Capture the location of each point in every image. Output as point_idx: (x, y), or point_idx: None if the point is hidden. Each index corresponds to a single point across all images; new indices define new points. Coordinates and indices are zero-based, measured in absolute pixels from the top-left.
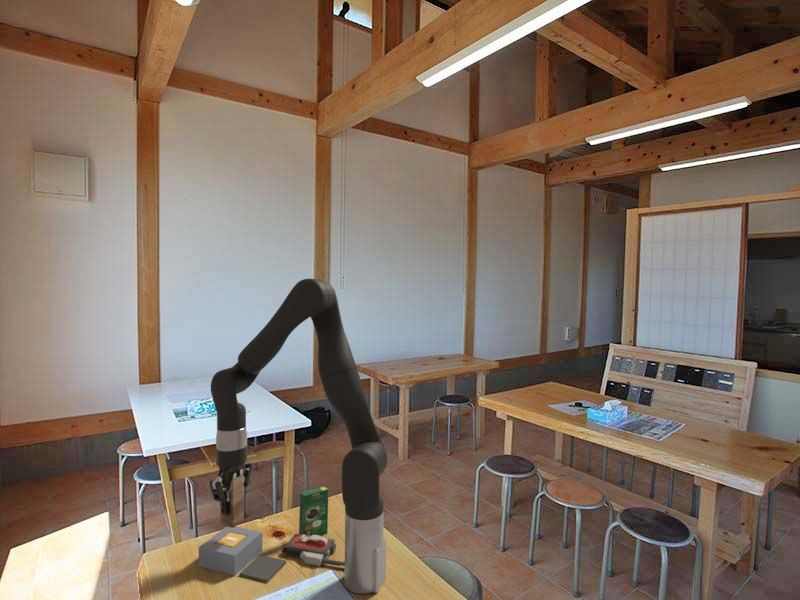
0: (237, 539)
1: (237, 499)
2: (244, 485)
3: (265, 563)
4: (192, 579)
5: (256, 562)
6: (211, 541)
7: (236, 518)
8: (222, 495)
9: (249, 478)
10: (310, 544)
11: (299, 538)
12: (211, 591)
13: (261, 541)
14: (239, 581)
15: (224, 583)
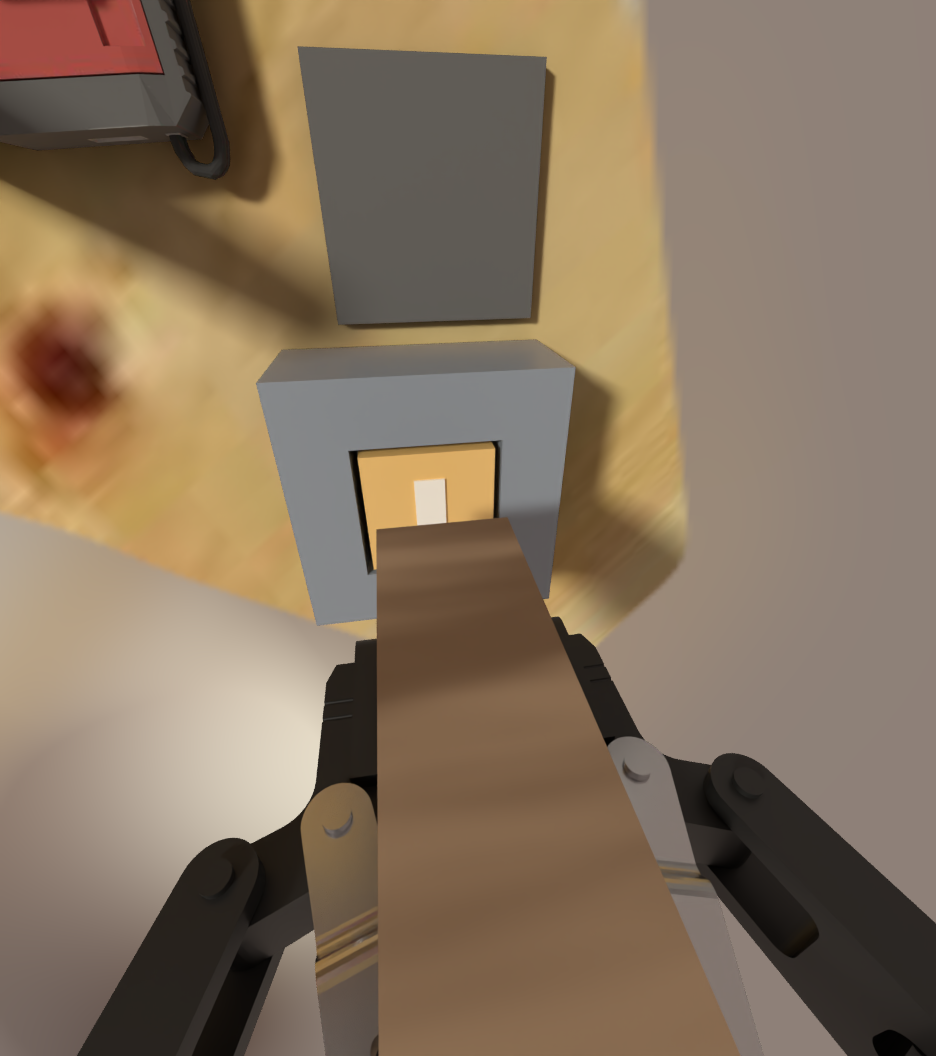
0: (418, 479)
1: (504, 708)
2: (263, 879)
3: (397, 215)
4: (599, 500)
5: (414, 287)
6: None
7: (482, 556)
8: (819, 856)
9: (111, 1006)
10: None
11: (16, 20)
12: (659, 365)
13: (281, 365)
14: (569, 279)
15: (598, 348)
